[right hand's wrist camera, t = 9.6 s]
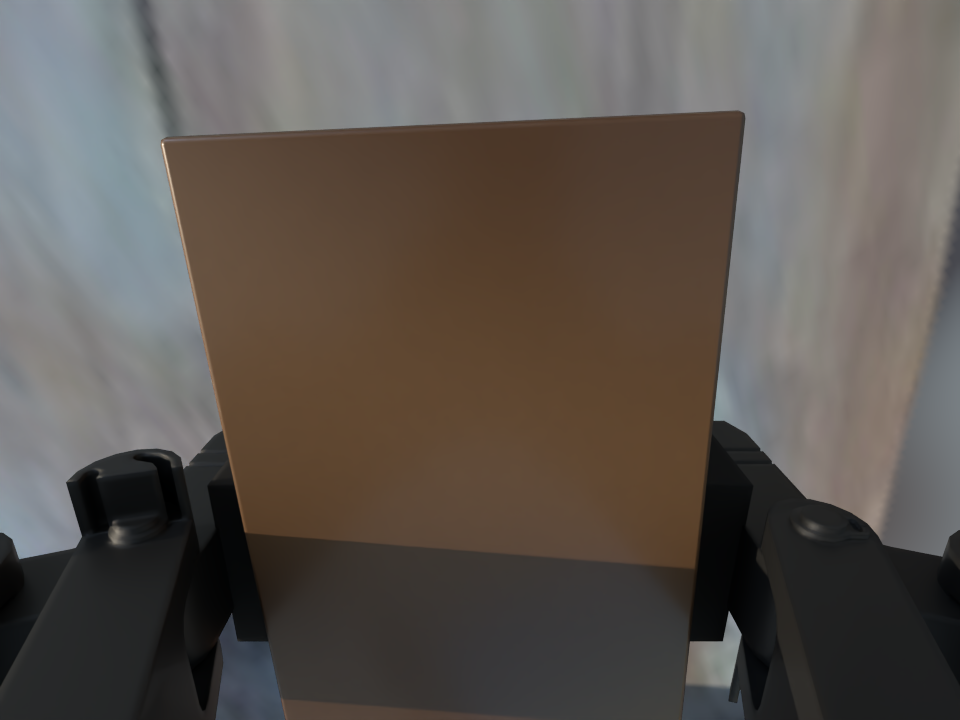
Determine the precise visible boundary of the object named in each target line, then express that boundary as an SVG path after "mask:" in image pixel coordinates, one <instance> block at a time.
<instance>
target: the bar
mask: <svg viewBox="0 0 960 720" xmlns="http://www.w3.org/2000/svg"><path fill="white" fill-rule="evenodd" d="M744 126H745V114H744V113H743V112H741V111H717V112H696V113H674V114H652V115H631V116H609V117H588V118H566V119H544V120H523V121H501V122H479V123H458V124H436V125H414V126H393V127H371V128H349V129H328V130H306V131H284V132H263V133H241V134H220V135H198V136H176V137H166V138H164V139H162V140H161V149H162V153H163V158H164V162H165V167H166V172H167V176H168V181H169V185H170V190H171V195H172V199H173V204H174V208H175V213H176V218H177V222H178V227H179V232H180V236H181V241H182V245H183V250H184V255H185V259H186V264H187V268H188V273H189V278H190V282H191V287H192V291H193V296H194V301H195V305H196V310H197V314H198V319H199V324H200V328H201V333H202V337H203V342H204V347H205V351H206V356H207V360H208V365H209V370H210V374H211V379H212V383H213V388H214V393H215V397H216V402H217V407H218V411H219V416H220V420H221V425H222V430H223V434H224V439H225V443H226V448H227V453H228V457H229V462H230V466H231V471H232V476H233V480H234V485H235V489H236V494H237V499H238V503H239V508H240V512H241V517H242V522H243V526H244V531H245V535H246V540H247V545H248V549H249V554H250V558H251V563H252V568H253V572H254V577H255V581H256V586H257V591H258V595H259V600H260V605H261V609H262V614H263V618H264V623H265V628H266V632H267V637H268V641H269V646H270V651H271V655H272V660H273V664H274V669H275V674H276V678H277V683H278V687H279V692H280V697H281V701H282V706H283V710H284V715H285V720H681V719H682V710H683V701H684V691H685V682H686V672H687V663H688V653H689V644H690V635H691V625H692V616H693V606H694V597H695V587H696V578H697V569H698V559H699V550H700V540H701V531H702V521H703V512H704V503H705V493H706V484H707V474H708V465H709V455H710V446H711V437H712V427H713V418H714V408H715V399H716V390H717V380H718V371H719V361H720V352H721V342H722V333H723V324H724V314H725V305H726V295H727V286H728V276H729V267H730V258H731V248H732V239H733V229H734V220H735V210H736V201H737V192H738V182H739V173H740V163H741V154H742V144H743V135H744Z"/></svg>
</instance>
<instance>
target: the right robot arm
mask: <svg viewBox="0 0 960 720" xmlns="http://www.w3.org/2000/svg"><path fill="white" fill-rule="evenodd" d="M189 464H190V465H189V466H186V467H185V468H184V469H183V466H182V461H181V457H179V456H178V455H176V454H175V453H174V452H172V451H167V450H161V449H141V450H134V451H129V452H124V453H119V454H115V455H112V456H110V457H107V458H104V459H101V460H98V461H96V462H94V463H92V464H90V465H88V466H86V467H85V468H83V469H81V470H79V471H78V472H76V473H75V474H74V475H73V476H72V477H71V478H70V479H69V480H68V481H67V482H66V484H67V487H68V490H69V494H70V497H71V501H72V504H73V507H74V511H75V514H76V517H77V521H78V524H79V527H80V531H81V534H82V538H81V540H80V542H79V544H78V545H77V547H76V548H74V549H70V550H65V551H60V552H54V553H49V554H44V555H39V556H34V557H29V558H24V559H19V558H18V555H17V552H16V549H15V546H14V543H13V541H12V539H11V538H9V537H8V536H7V535H5V534H4V533H0V720H215V718H216V711H217V704H218V696H219V689H220V682H221V675H222V668H223V657H222V650H221V645H220V640H219V636H220V634H221V632H222V630H223V628H224V627H225V625H226V623H227V621H228V619H229V617H230V615H231V613H232V614H233V619H234V625H235V630H236V635H237V640H238V641H268V637H267V632H266V628H265V623H264V618H263V614H262V609H261V605H260V600H259V595H258V591H257V586H256V581H255V577H254V572H253V568H252V563H251V558H250V554H249V549H248V545H247V540H246V535H245V531H244V526H243V522H242V517H241V512H240V508H239V503H238V499H237V494H236V489H235V485H234V480H233V476H232V471H231V466H230V462H229V457H228V453H227V448H226V443H225V439H224V434H223V431H222V432H220V433H218V434H216V435H215V436H214V437H213V438H212V439H211V440H210V441H209V442H208V443H207V444H206V445H205V446H204V448H203V449H202V450H201V453H198V454H197V455H196V456H195V457H194V458H193V460H192V461H191V462H190V463H189ZM729 611H730V613H731V615H732V617H733V619H734V621H735V622H736V624H737V626H738V628H739V630H740V632H741V634H742V636H741V640H740V645H739V650H738V654H737V659H736V664H735V669H734V673H733V678H732V683H731V687H730V694H729V701H730V702H734V703H737V700H738V695H739V691H740V690H741V695H742V702H743V709H744V716H745V720H960V530H958V531H957V532H956V533H954V534H953V535H951V536H950V537H949V540H948V543H947V546H946V548H945V551H944V554H943V557H941V556H935V555H930V554H925V553H920V552H915V551H909V550H904V549H899V548H894V547H890V546H885V545H883V544H882V542H881V541H880V539H879V537H878V535H877V534H876V533H875V532H874V531H873V530H872V528H871V527H870V526H869V525H868V524H867V523H866V522H864V521H863V520H861V519H860V518H858V517H857V516H855V515H853V514H852V513H850V512H848V511H846V510H843V509H841V508H838V507H836V506H834V505H831V504H828V503H824V502H819V501H815V500H811V499H806V498H805V497H804V495H803V494H802V493H801V492H800V491H799V490H798V489H797V488H796V487H795V486H794V485H793V484H792V482H791V481H790V480H789V479H788V478H787V477H786V476H785V475H784V474H783V473H782V472H781V470H780V469H779V468H778V467H777V466H776V465H775V464H772V461H771V460H770V458H769V457H768V456H767V455H766V454H765V453H764V452H763V451H760V448H759V447H758V445H757V444H756V443H755V442H754V441H753V440H752V439H751V438H750V437H749V436H748V435H747V434H746V433H745V432H743V431H741V430H739V429H738V428H736V427H734V426H732V425H731V424H729V423H727V422H725V421H713V427H712V437H711V446H710V455H709V465H708V474H707V484H706V493H705V503H704V512H703V521H702V531H701V540H700V550H699V559H698V569H697V578H696V587H695V597H694V606H693V616H692V625H691V635H690V641H723V637H724V632H725V627H726V622H727V617H728V612H729Z"/></svg>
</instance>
